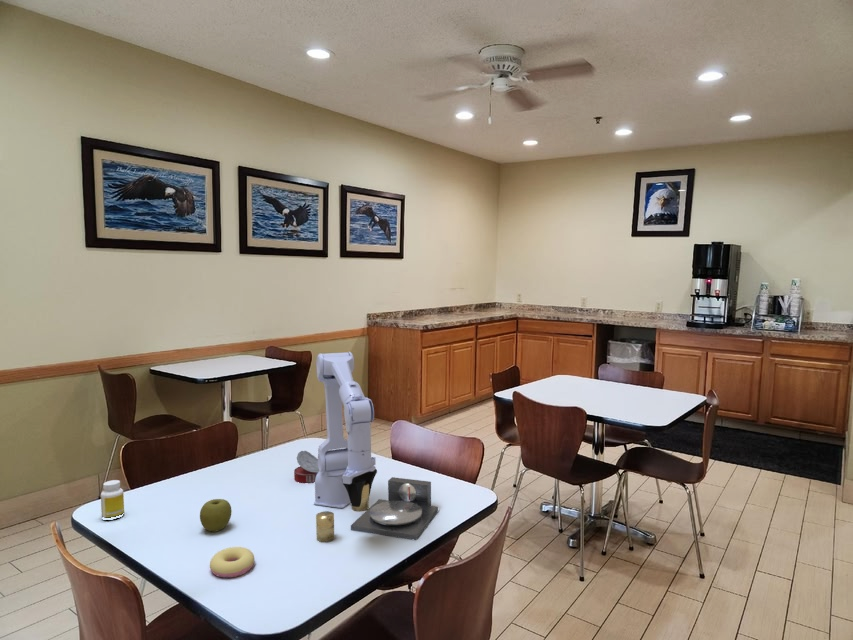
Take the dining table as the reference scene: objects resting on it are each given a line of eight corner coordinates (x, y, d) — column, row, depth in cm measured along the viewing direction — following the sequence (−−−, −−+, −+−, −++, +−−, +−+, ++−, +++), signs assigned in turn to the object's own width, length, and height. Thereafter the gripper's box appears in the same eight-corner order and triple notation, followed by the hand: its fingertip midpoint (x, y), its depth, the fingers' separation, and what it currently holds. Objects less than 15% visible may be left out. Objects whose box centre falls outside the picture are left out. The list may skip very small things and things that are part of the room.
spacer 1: (313, 541, 135) (312, 517, 135) (322, 533, 139) (321, 510, 139) (329, 543, 134) (328, 519, 133) (337, 535, 138) (337, 512, 137)
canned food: (313, 486, 184) (325, 457, 187) (323, 492, 176) (335, 462, 178) (283, 476, 179) (295, 446, 182) (292, 482, 171) (305, 451, 173)
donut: (245, 563, 129) (204, 570, 124) (246, 543, 130) (205, 548, 124) (259, 575, 121) (216, 582, 115) (261, 553, 122) (217, 559, 116)
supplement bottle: (128, 515, 151) (127, 480, 150) (110, 523, 146) (108, 487, 145) (115, 511, 153) (114, 477, 153) (97, 519, 148) (95, 484, 148)
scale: (350, 530, 141) (350, 503, 140) (382, 499, 161) (382, 476, 160) (416, 540, 135) (415, 512, 134) (441, 506, 155) (441, 482, 154)
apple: (237, 523, 145) (236, 497, 145) (220, 537, 137) (219, 509, 137) (212, 520, 147) (211, 495, 146) (193, 534, 139) (192, 507, 139)
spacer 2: (348, 510, 134) (348, 486, 134) (356, 503, 138) (356, 480, 138) (364, 512, 133) (364, 488, 132) (372, 505, 137) (371, 482, 136)
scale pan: (361, 521, 142) (360, 518, 142) (382, 500, 155) (382, 497, 155) (411, 528, 137) (411, 525, 137) (428, 506, 151) (428, 504, 151)
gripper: (361, 459, 126) (362, 516, 127) (385, 441, 140) (386, 493, 141) (334, 456, 128) (335, 512, 129) (361, 439, 142) (362, 490, 143)
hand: (360, 502), depth 135 cm, fingers closed on spacer 2, 4 cm apart
